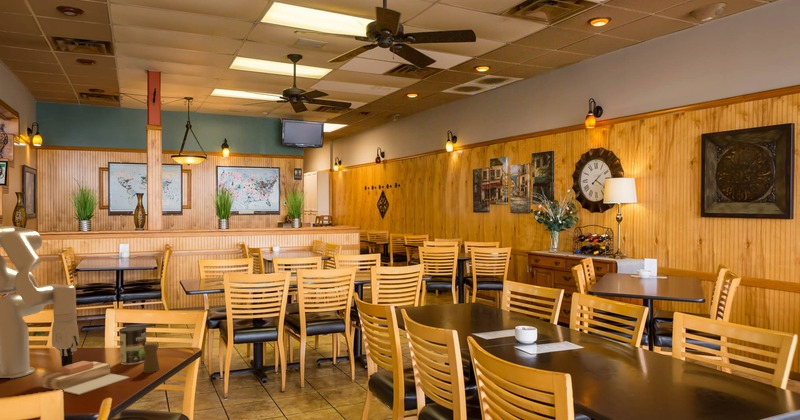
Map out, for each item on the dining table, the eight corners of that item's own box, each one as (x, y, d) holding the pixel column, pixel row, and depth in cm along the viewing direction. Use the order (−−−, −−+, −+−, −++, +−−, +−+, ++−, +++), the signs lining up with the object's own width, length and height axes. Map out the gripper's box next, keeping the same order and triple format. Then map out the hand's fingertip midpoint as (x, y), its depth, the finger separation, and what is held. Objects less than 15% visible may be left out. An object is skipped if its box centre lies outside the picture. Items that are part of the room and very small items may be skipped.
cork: (162, 368, 224) (161, 340, 224) (156, 372, 218) (155, 344, 218) (147, 368, 224) (146, 341, 224) (140, 373, 218) (139, 345, 218)
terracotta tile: (60, 372, 208) (60, 367, 208) (83, 365, 216) (83, 360, 216) (70, 374, 205) (70, 369, 205) (93, 367, 213) (93, 362, 213)
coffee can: (152, 358, 239) (151, 325, 238) (136, 365, 229) (135, 331, 228) (131, 357, 241) (130, 325, 241) (114, 364, 231) (113, 330, 230)
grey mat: (59, 390, 199) (59, 389, 199) (110, 374, 217) (110, 373, 217) (79, 395, 195) (79, 393, 195) (129, 378, 212) (129, 377, 212)
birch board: (42, 387, 204) (42, 376, 204) (93, 371, 222) (93, 361, 222) (59, 390, 199) (59, 379, 199) (110, 374, 217) (110, 364, 217)
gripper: (43, 318, 213) (45, 366, 213) (68, 321, 206) (69, 370, 207) (62, 314, 220) (64, 360, 220) (87, 317, 213) (89, 364, 213)
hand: (67, 365), depth 213 cm, fingers closed
